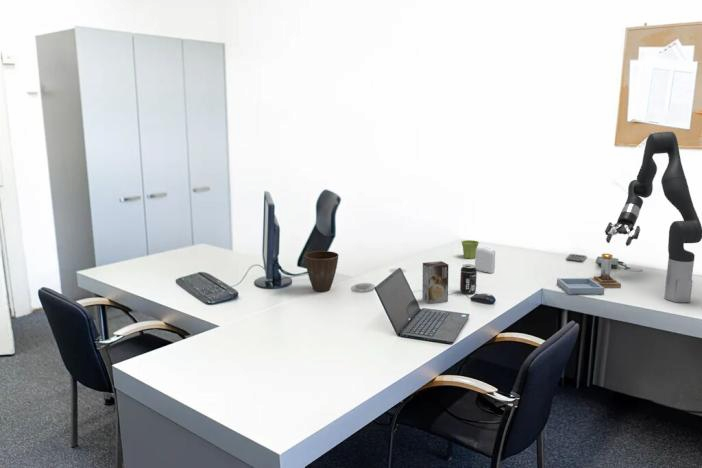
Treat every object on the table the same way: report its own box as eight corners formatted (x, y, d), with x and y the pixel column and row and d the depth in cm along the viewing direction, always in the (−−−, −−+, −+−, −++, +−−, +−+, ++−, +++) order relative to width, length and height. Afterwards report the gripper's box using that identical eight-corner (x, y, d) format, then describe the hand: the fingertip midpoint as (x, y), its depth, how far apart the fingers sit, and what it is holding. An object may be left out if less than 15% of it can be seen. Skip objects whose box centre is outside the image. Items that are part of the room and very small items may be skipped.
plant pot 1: (332, 283, 265) (331, 249, 262) (343, 292, 251) (343, 257, 248) (301, 286, 260) (300, 252, 256) (311, 296, 246) (310, 260, 243)
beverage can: (457, 290, 252) (457, 264, 250) (470, 289, 255) (471, 263, 252) (465, 295, 246) (466, 268, 244) (478, 293, 248) (480, 266, 246)
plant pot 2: (457, 256, 313) (458, 240, 311) (472, 254, 316) (473, 239, 314) (465, 260, 304) (466, 244, 303) (481, 259, 307) (482, 243, 305)
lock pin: (611, 281, 257) (614, 255, 255) (602, 281, 257) (604, 256, 255) (607, 279, 262) (609, 253, 259) (598, 279, 262) (600, 253, 259)
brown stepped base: (620, 287, 255) (621, 281, 255) (598, 288, 255) (598, 281, 255) (610, 281, 265) (611, 275, 264) (589, 281, 265) (589, 275, 264)
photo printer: (473, 269, 286) (474, 245, 284) (478, 268, 289) (479, 244, 286) (490, 274, 278) (491, 249, 276) (495, 272, 281) (497, 248, 278)
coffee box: (441, 297, 244) (442, 260, 241) (448, 301, 238) (449, 264, 235) (421, 299, 241) (422, 262, 238) (427, 304, 235) (428, 266, 232)
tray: (603, 294, 246) (604, 288, 245) (569, 294, 246) (569, 288, 245) (589, 284, 261) (590, 278, 260) (556, 284, 261) (557, 278, 260)
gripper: (611, 209, 272) (599, 236, 266) (643, 212, 262) (631, 241, 256) (615, 218, 277) (603, 245, 271) (646, 222, 267) (635, 250, 261)
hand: (617, 243), depth 264 cm, fingers open, 8 cm apart
